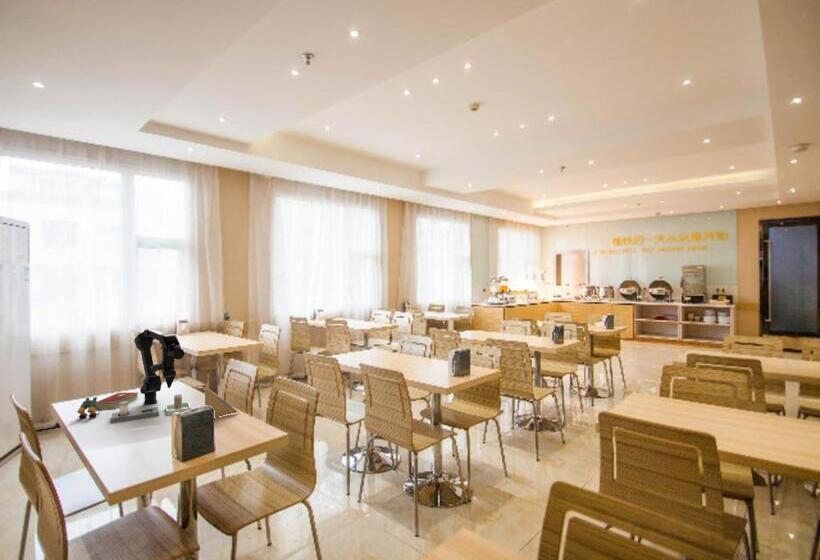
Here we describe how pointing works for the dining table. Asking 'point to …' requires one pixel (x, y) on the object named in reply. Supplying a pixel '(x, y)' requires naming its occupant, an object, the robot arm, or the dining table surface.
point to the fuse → (123, 408)
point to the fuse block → (135, 414)
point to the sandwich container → (218, 404)
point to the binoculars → (91, 405)
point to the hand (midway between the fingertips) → (168, 386)
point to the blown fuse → (177, 401)
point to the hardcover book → (116, 400)
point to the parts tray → (170, 409)
